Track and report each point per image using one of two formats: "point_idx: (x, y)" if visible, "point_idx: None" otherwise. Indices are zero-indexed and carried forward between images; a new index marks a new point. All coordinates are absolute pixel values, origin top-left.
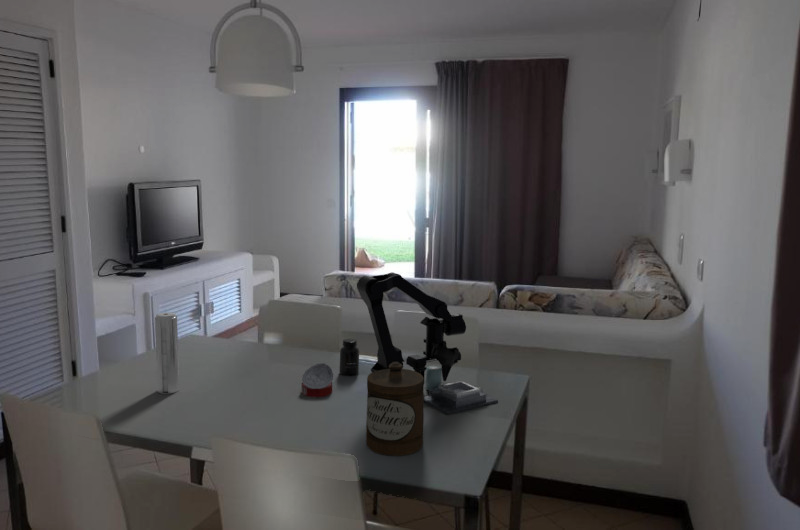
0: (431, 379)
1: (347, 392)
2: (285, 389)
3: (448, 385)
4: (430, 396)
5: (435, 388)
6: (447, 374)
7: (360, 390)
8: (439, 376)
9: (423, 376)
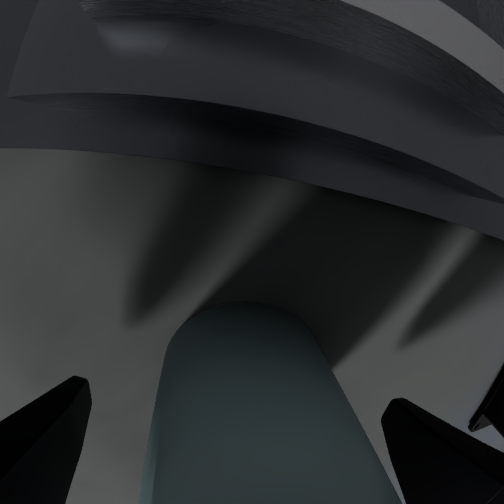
0: (363, 431)
1: (496, 448)
2: None
3: (454, 20)
4: (480, 202)
5: (297, 328)
6: (28, 420)
7: None
8: (271, 438)
9: (475, 453)
